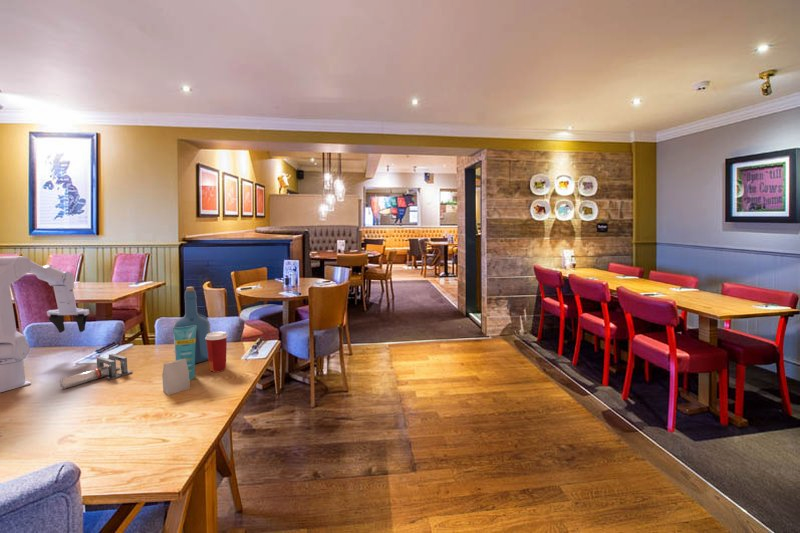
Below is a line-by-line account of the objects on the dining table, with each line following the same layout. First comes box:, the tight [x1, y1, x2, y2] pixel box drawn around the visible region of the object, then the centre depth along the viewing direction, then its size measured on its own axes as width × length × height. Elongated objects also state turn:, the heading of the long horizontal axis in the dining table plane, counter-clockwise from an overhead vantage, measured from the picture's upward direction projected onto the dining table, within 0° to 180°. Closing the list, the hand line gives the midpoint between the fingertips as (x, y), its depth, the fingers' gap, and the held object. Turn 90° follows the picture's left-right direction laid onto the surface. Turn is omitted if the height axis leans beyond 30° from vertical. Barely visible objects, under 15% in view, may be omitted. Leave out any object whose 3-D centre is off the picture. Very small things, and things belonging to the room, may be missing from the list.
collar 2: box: [108, 353, 133, 377], centre depth 145 cm, size 4×11×6 cm, turn 63°
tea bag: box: [162, 359, 191, 396], centre depth 129 cm, size 4×7×10 cm, turn 142°
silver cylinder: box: [59, 365, 109, 390], centre depth 136 cm, size 14×4×4 cm, turn 153°
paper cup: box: [205, 330, 228, 373], centre depth 148 cm, size 8×8×14 cm
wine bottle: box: [173, 286, 211, 364], centre depth 158 cm, size 14×13×30 cm
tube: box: [172, 325, 197, 381], centre depth 139 cm, size 7×5×19 cm, turn 123°
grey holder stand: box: [95, 356, 122, 381], centre depth 141 cm, size 4×11×6 cm, turn 63°
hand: (72, 331), depth 161 cm, fingers open, 7 cm apart
